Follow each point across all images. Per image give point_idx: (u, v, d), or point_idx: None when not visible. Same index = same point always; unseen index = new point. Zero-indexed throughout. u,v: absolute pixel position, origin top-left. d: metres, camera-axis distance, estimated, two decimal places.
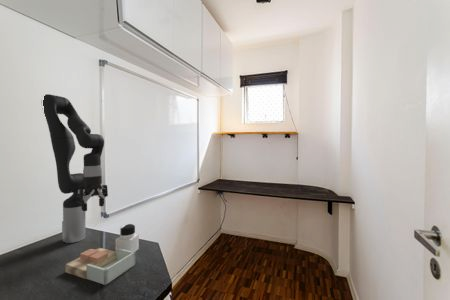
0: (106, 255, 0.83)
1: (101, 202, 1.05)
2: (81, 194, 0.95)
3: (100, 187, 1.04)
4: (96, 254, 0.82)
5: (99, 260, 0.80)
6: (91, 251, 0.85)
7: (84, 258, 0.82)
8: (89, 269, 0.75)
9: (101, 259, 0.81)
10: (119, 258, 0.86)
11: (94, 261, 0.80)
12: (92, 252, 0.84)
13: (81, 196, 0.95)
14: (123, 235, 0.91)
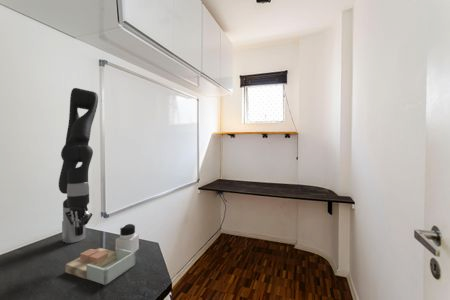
0: (106, 255, 0.83)
1: None
2: None
3: None
4: (96, 254, 0.82)
5: (99, 260, 0.80)
6: (91, 251, 0.85)
7: (84, 258, 0.82)
8: (89, 269, 0.75)
9: (101, 259, 0.81)
10: (119, 258, 0.86)
11: (94, 261, 0.80)
12: (92, 252, 0.84)
13: None
14: (123, 235, 0.91)
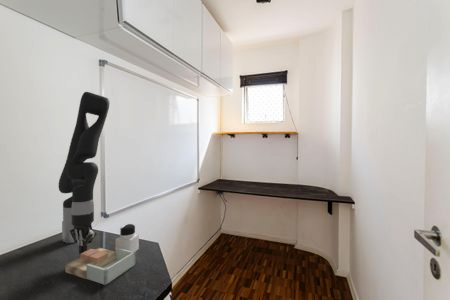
0: (106, 255, 0.83)
1: None
2: None
3: None
4: (96, 254, 0.82)
5: (99, 260, 0.80)
6: (91, 251, 0.84)
7: (84, 258, 0.82)
8: (89, 269, 0.75)
9: (101, 259, 0.81)
10: (119, 258, 0.86)
11: (94, 261, 0.80)
12: (92, 252, 0.84)
13: None
14: (123, 235, 0.91)
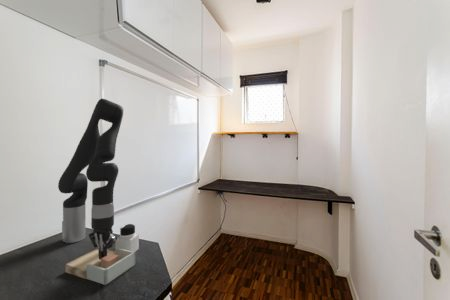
0: None
1: None
2: None
3: None
4: (113, 262, 0.79)
5: None
6: None
7: (101, 265, 0.79)
8: (89, 269, 0.75)
9: None
10: (119, 258, 0.86)
11: (105, 268, 0.78)
12: None
13: None
14: (123, 235, 0.91)
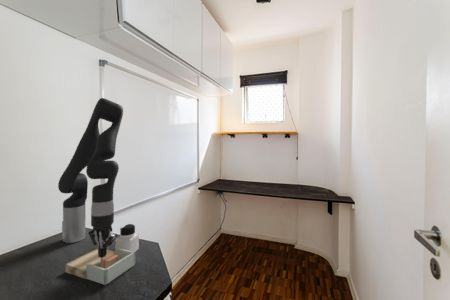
0: None
1: None
2: None
3: None
4: (113, 262, 0.79)
5: None
6: None
7: (101, 265, 0.79)
8: (89, 269, 0.75)
9: None
10: (119, 258, 0.86)
11: (105, 268, 0.78)
12: None
13: None
14: (123, 235, 0.91)
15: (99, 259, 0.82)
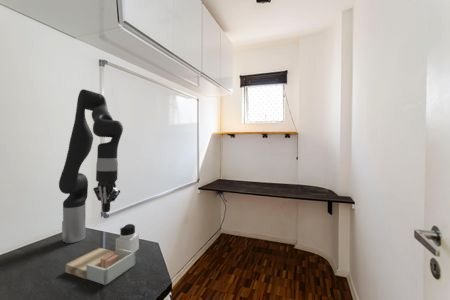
0: None
1: None
2: None
3: None
4: (113, 262, 0.79)
5: None
6: None
7: (101, 265, 0.79)
8: (89, 269, 0.75)
9: None
10: (119, 258, 0.86)
11: (105, 268, 0.78)
12: None
13: None
14: (123, 235, 0.91)
15: (99, 259, 0.82)
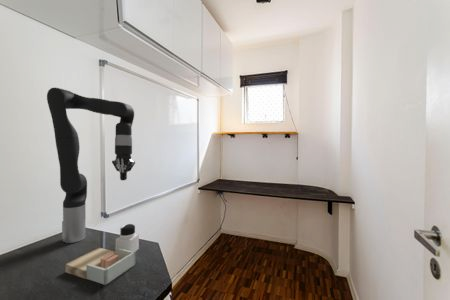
0: None
1: None
2: None
3: None
4: (113, 262, 0.79)
5: None
6: None
7: (101, 265, 0.79)
8: (89, 269, 0.75)
9: None
10: (119, 258, 0.86)
11: (105, 268, 0.78)
12: None
13: None
14: (123, 235, 0.91)
15: (99, 259, 0.82)
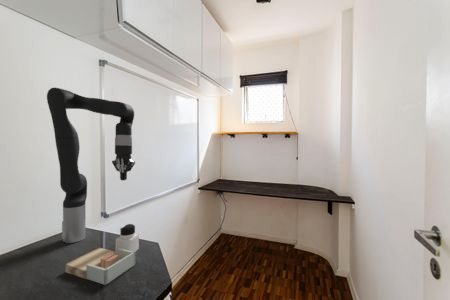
0: None
1: None
2: None
3: None
4: (113, 262, 0.79)
5: None
6: None
7: (101, 265, 0.79)
8: (89, 269, 0.75)
9: None
10: (119, 258, 0.86)
11: (105, 268, 0.78)
12: None
13: None
14: (123, 235, 0.91)
15: (99, 259, 0.82)
